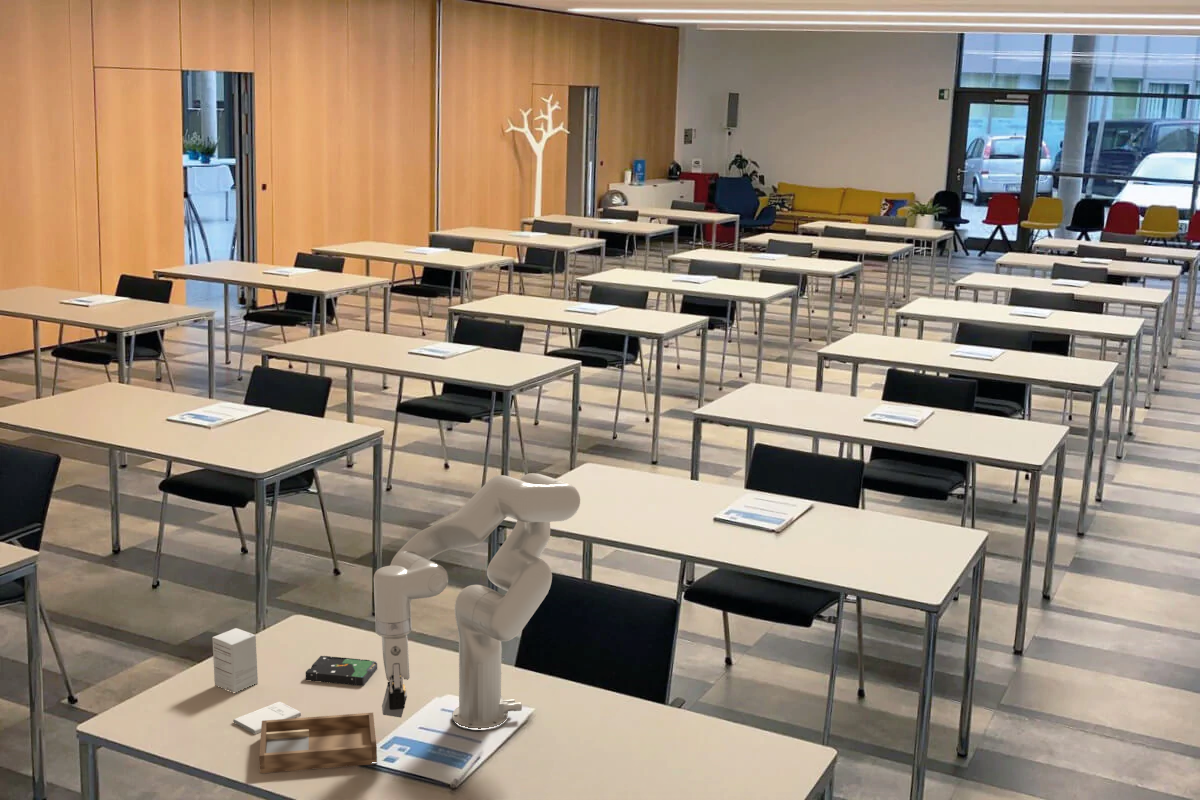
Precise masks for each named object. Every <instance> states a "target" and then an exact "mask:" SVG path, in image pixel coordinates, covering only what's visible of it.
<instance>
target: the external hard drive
mask: <svg viewBox="0 0 1200 800" xmlns="http://www.w3.org/2000/svg"><path fill="white" fill-rule="evenodd" d="M301 713H302V712H301V711H300V710H298V709H296V708H294V707H292V706H289V705H288V704H286V703H284V702H282V701H277V702H275V703H272V704H269V705H267V706H264V707H261V708H259V709H257V710H254V711H251V712H249V713H246V714H243V715H241V716H238V717H236V718H233V720H232V721H233V722H234V723H233V724H235V723H236V724H238V725H240V726H241V727H240V726H239V727H240V728H242V727H243V728H242V729H244V728H245V729H244V730H246V731H248V732H250V733H252V734H253V735H257V734H261V726H262V721H265V720H278V719H292V718H299V717H300V716H302V714H301ZM236 724H235V725H236ZM238 725H237V726H238Z"/></svg>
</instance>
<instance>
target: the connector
mask: <svg viewBox="0 0 1200 800" xmlns="http://www.w3.org/2000/svg"><path fill="white" fill-rule="evenodd" d="M393 684H394V683H392V686H393ZM403 690H404V699H405V703H406V702H407V697H408V695H407V689H406V684H405V683H403ZM389 692H390V686H389V685H388V684H387V685H386V690H385V693H384V696H383V701H382V705H381V708H382V709H381V710H382V715H383V716H389V717H394V718H395V717H396V718H402V717H403V713H404V710H405V708H404V709H396V710H390V708H389Z"/></svg>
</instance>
